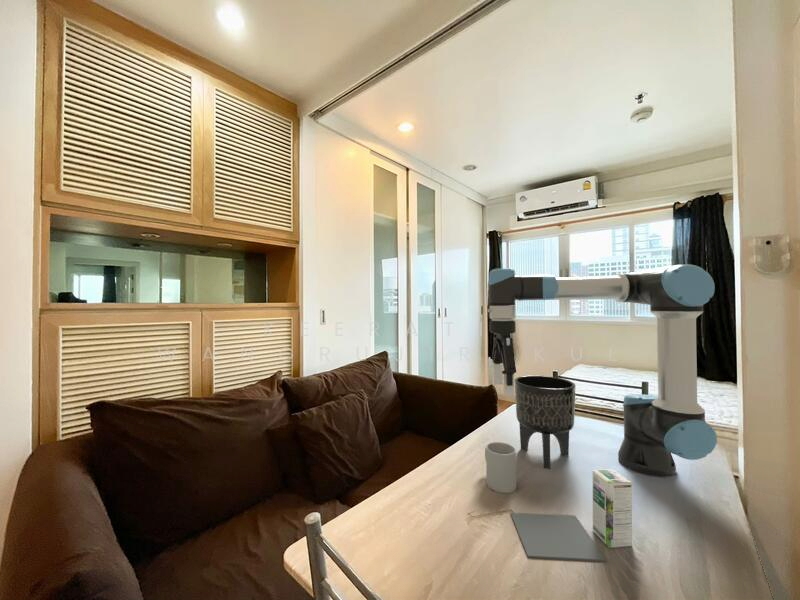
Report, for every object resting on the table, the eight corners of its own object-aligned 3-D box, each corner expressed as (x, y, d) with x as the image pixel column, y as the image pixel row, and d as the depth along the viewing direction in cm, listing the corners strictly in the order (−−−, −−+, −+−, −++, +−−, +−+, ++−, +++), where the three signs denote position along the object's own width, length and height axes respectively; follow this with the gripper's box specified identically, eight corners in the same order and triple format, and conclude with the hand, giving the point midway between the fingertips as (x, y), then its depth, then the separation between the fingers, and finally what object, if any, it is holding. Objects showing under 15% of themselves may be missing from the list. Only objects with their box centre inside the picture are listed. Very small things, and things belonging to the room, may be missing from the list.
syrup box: (591, 530, 76) (590, 469, 76) (614, 528, 77) (613, 468, 77) (609, 548, 71) (608, 482, 71) (634, 546, 71) (633, 481, 71)
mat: (575, 517, 81) (575, 515, 81) (606, 561, 67) (606, 559, 67) (510, 514, 82) (510, 512, 82) (527, 557, 68) (527, 555, 68)
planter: (581, 476, 100) (580, 391, 100) (515, 465, 107) (514, 386, 107) (571, 448, 119) (570, 377, 119) (515, 441, 125) (514, 373, 125)
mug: (522, 490, 93) (522, 452, 93) (497, 495, 90) (496, 456, 90) (497, 469, 104) (497, 435, 104) (474, 474, 102) (474, 439, 102)
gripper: (482, 317, 110) (483, 379, 110) (498, 322, 85) (499, 402, 85) (505, 317, 109) (505, 380, 109) (527, 322, 84) (528, 403, 84)
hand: (503, 390), depth 97 cm, fingers open, 13 cm apart
